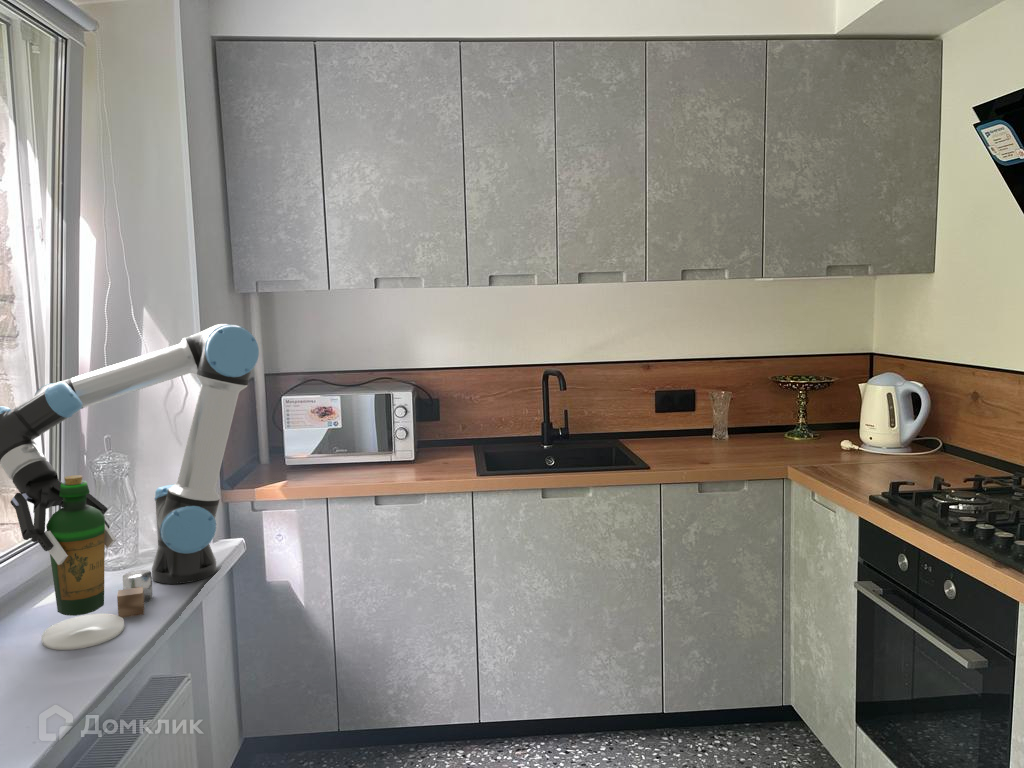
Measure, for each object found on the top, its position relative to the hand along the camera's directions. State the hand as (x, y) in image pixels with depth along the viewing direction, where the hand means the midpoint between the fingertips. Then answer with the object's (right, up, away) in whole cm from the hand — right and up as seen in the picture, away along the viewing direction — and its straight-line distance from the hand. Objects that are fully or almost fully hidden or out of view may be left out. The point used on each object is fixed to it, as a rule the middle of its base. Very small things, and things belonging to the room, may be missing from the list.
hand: (88, 551), depth 158 cm
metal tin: (0, -16, +21) cm, 27 cm away
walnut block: (+2, -17, +14) cm, 22 cm away
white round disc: (-3, -18, +3) cm, 18 cm away
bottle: (-3, -13, +3) cm, 13 cm away
